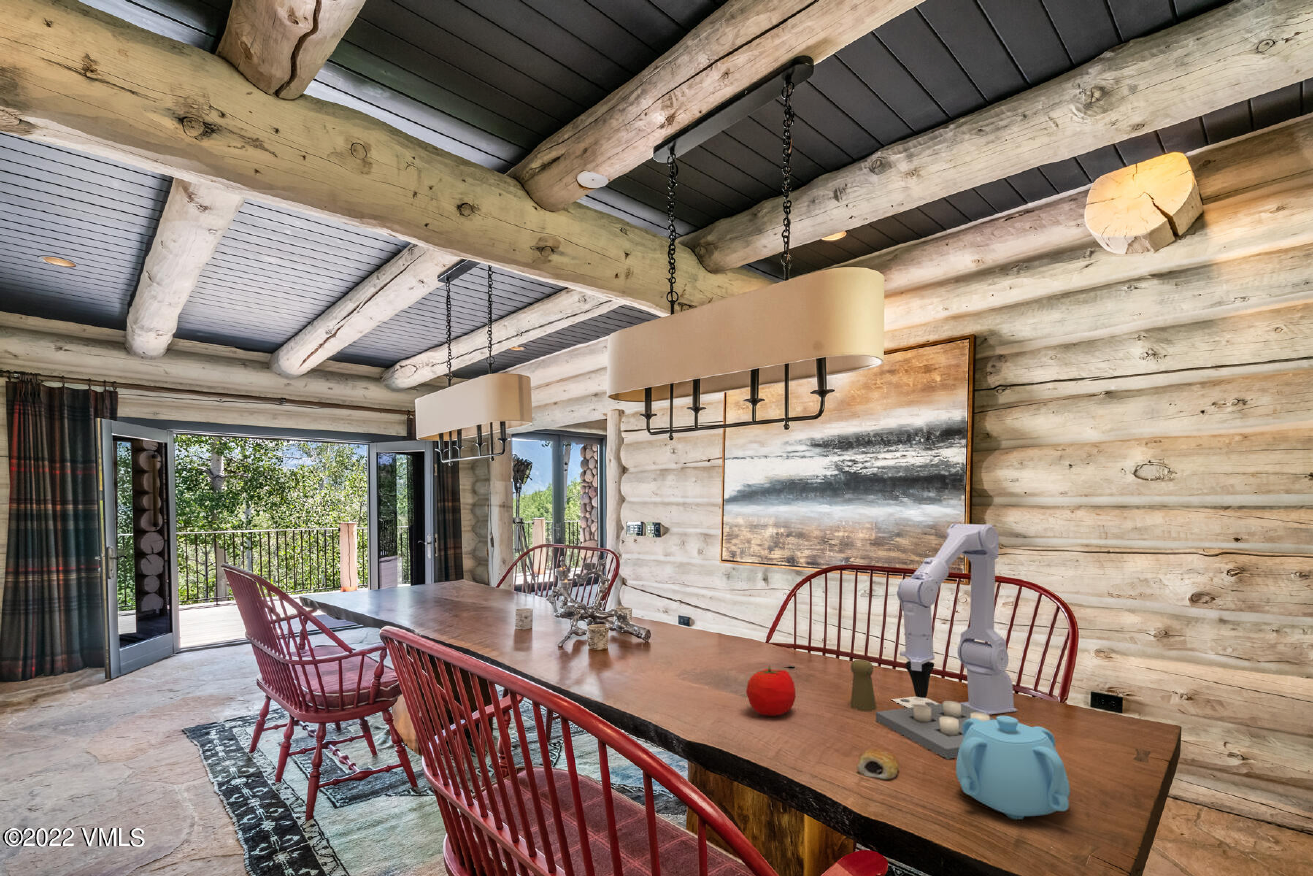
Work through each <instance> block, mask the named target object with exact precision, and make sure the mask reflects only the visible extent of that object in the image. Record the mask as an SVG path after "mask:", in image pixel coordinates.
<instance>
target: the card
mask: <svg viewBox="0 0 1313 876" xmlns="http://www.w3.org/2000/svg"><path fill="white" fill-rule="evenodd" d="M890 700H893V701H895V702H896V704H897V703H899V704H898V705H900V704H901V705H900V706H901V707H904V706H905V707H904V708H906V707H907V708H912V707H913V706H914V705H918V704H920V705H926V706H928V705H936V704H940V703H938V702H937V701H934V700H933V699H930V698H928V697H926V698H920V697H916V696H909V697H908V696H907V697H901V698H892V699H890ZM893 701H892V702H893ZM895 702H894V703H895Z"/></svg>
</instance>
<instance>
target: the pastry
mask: <svg viewBox="0 0 1313 876" xmlns="http://www.w3.org/2000/svg"><path fill="white" fill-rule="evenodd" d="M899 766H900V765H899V761H898V759H897V756H896V755H895V753H894V752H891V751H888V750H886V749H883V748H875V749H867V750H865V751H864V752H863V753H861V754H860V756H859V758H858V765H856V769H857V771H858V772H859V774H860V775H863V776H864V777H869V778H875V779H880V780H892V779H895V778H896V776H897V775H898V772H899V768H900V767H899Z"/></svg>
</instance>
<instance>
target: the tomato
mask: <svg viewBox="0 0 1313 876" xmlns="http://www.w3.org/2000/svg"><path fill="white" fill-rule="evenodd" d="M745 693H746V695H747V699H748V702H749V705H750V706H751V708H752V709H753V710H754V711H755V712H756V713H758V714H759V715H763V716H771V717H776V716H780V715H783V714H787V712H789V711H790V710H792V707H793V706H794V704H795V700H796V687H795V681H794V680H793V678H792V676H791V675H790V673H789V672H788V671H787V670H785V669H771V666H770V665H768V668H765V669H763V670H760V671H758V672H755V673H753V675H751V677H750V678H749V680H748V682H747V686H746V691H745Z"/></svg>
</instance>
